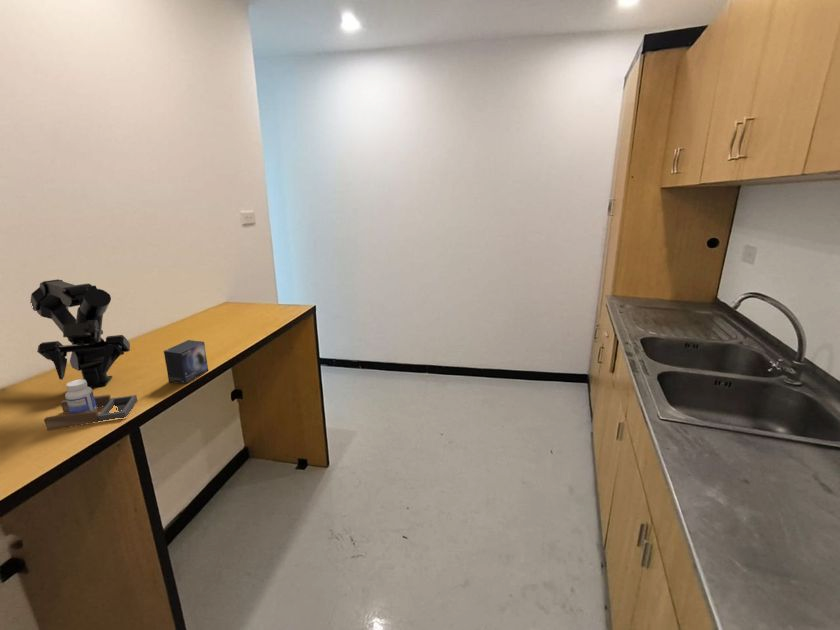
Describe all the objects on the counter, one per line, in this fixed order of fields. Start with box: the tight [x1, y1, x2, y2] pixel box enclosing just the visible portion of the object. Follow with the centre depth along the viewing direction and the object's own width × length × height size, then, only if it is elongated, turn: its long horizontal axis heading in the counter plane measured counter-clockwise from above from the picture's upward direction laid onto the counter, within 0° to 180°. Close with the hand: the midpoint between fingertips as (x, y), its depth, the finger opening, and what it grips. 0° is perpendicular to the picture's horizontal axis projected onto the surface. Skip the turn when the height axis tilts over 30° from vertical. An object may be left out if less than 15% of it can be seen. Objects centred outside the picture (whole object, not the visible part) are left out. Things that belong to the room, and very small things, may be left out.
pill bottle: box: [64, 378, 98, 414], centre depth 104 cm, size 5×5×10 cm
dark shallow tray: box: [98, 394, 138, 421], centre depth 108 cm, size 10×6×2 cm, turn 20°
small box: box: [163, 339, 209, 384], centre depth 127 cm, size 11×6×10 cm, turn 168°
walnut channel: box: [43, 394, 111, 431], centre depth 105 cm, size 10×10×3 cm
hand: (82, 376), depth 106 cm, fingers open, 9 cm apart
